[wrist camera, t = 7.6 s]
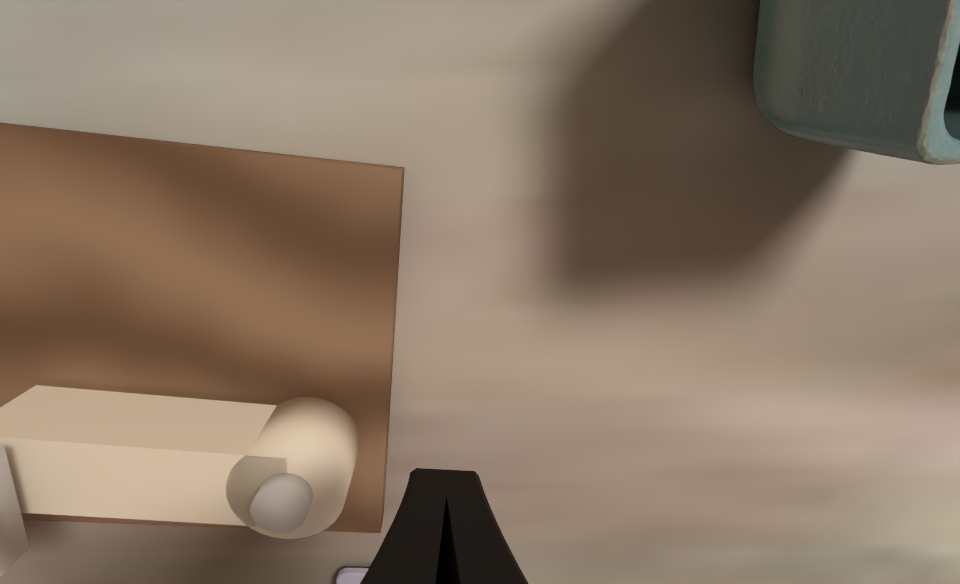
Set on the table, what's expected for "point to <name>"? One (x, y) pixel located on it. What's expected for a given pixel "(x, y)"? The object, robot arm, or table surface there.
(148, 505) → the link
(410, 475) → the robot arm
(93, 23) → the table surface
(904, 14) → the flower pot
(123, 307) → the hinge board
